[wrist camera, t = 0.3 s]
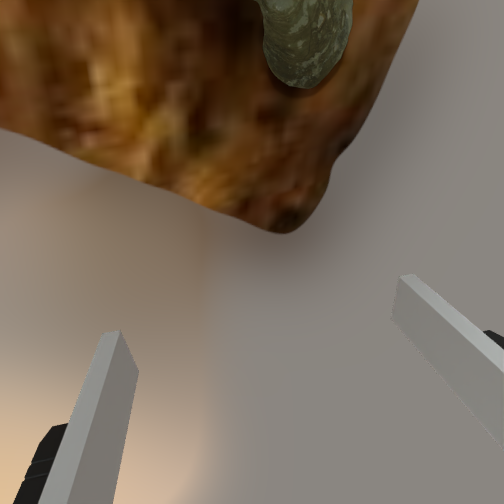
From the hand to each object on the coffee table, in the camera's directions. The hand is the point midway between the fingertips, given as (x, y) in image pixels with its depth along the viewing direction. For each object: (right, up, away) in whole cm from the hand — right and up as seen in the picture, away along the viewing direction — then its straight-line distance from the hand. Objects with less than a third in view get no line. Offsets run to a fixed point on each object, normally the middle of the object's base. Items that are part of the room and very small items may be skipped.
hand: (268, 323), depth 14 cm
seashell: (+4, +27, +17) cm, 32 cm away
